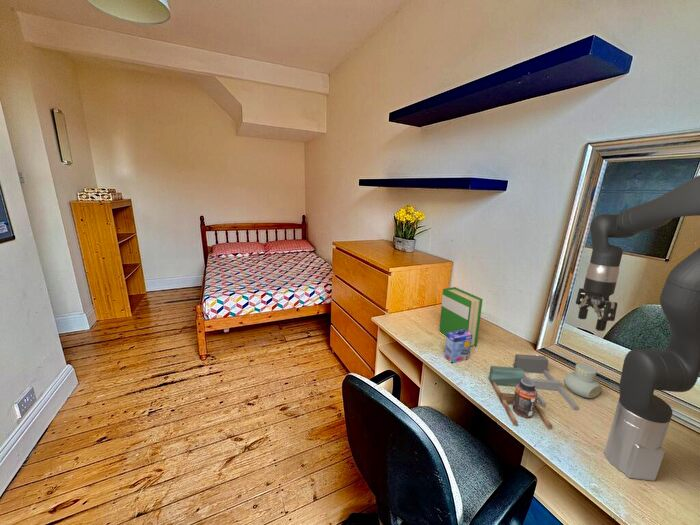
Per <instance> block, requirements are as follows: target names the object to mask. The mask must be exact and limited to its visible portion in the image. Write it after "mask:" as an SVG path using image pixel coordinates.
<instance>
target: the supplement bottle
mask: <svg viewBox="0 0 700 525" xmlns="http://www.w3.org/2000/svg"><path fill="white" fill-rule="evenodd" d="M537 392H538V391H537V389H536V388H535V383H534V382H533V381H531V380H529V379H528V378H527V379H521V381H520V383H519V384H517V386H515V391H514V394H515V395H514V401H513V404H512V410H513V411H514V413H515V414H517V416H520V417H522V418H525V419H530V418H532V417H533V416H534V413H535V409H534V408H535V403H536V398H537Z"/></svg>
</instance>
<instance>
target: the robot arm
mask: <svg viewBox="0 0 700 525" xmlns="http://www.w3.org/2000/svg"><path fill="white" fill-rule="evenodd" d="M697 216H700V174H699V175H697V176H694V177H693V178H691V179H689V180H687V181H686V182H684V183H682V184H680V185H679V186H677V187H675V188H673V189H671V190H670V191H668V192H666V193H663V194H662V195H660V196H658V197H656V198H655V199H652V200H649V201H646V202H644V203H640V204H638V205H635V206H632V207H630V208H627V209H625V210H623V211H621V212H620V213H619V214H612V213H611V214H607V213H606V214H605V213H604V214H603V213H602V214H598V215H596V216H595V217H594V218H593V219H592V220H591V222H590V225H589V230H590V231H589V232H590V237H591V247H592V252H591V256H590V261H589V265H588V266H587V270H586V275H585V280H584V282H583V283H584V284H583V287H581V288H579V289H578V293H577V295H576V296H577V297H576V300H575V304H576V305H578V308H579V310H578V315H577V316H578V317H577V318H578V319H580V320H586V319H587V317H588V312H589V308H590V307H591V308H592V309H593V310H594V313H596V315H597V322H596V325H595V330H596V331H599V332H604V331H606V328H607V323H608V322H614V321H615V319H616V315H617V314H616V313H617V308H618V302H617V301H610V297H611V296H612V295H614V294H615V290H616V286H617V282H618V278H619V274H620V266H621V262H622V257H623V253H624V252H623V248H622V247H620V246H618V245H614V244H610V242H609V239H610V238H614V239H626V238H631V237H634V236H636V235H637V234H639V233H641V232H645V231H650V230H654V229H658V228H661V227H662V226H665V225H667V224H668V223H670V222H671V221H672V220H673V219H674V218H682V217H697ZM608 238H609V239H608ZM581 299H582V300H581ZM659 305H660V307H661V310H662V312H663V314H664V316H665V318H666V320H667V322H668V325H669V328H670V333H671V334H670V339H669V342H668V344H667V346H666V348H665V349H664V350H653V349H645V348H642V349H641V348H634V349H633V348H632V349H631V350H629V351H628V352H627V353H626V355H625V357H624V359H623V360H624V361H623V364H622V370H621V375H620V380H619V388H618V389H619V398H618V401H617V405H616V408H615V411H614V412H615V413H614V414H613V415H614V416H613V419H612V422H611V427H610V430H609V434H608V437H607V442H606V445H605V447H604V448H605V449H604V457H605V458H606V460H608V462H609V463H610V464H611V465H612V466H613V467H615V468H616V469H617V470H619V471H620V472H622V473H623V474H625V475H626V477H627V478H629V479H635V480H644V481H645V480H646V481H653V482H654V481H656V479H657V476H658V473H659V470H660V467H661V465H662V462H663V461H662V460H663V458H664V456H665V453H666V451H665V449H664V447H662V446H663V443H664V441H665V440H664V439H665V437H666V434H667V432H668V431H667V430H668V429H669V425H670V423H671V420H672V416H673V409H672V406H670V405H669V403H667V402H666V400H663V399H662V398H661V397H659V396H658V395H656V394H654V393H655V390H656V391H664V392H673V393H674V392H675V393H686V392H688V391H690V390H692V389H693V388H694V386H695V385H696V383H697V381H698V379H699V376H700V247H698V248H697V249H696V250H694V251H693V252H692V253H691V254H689V255H688V256H686V257H685V258H684V259H682V260H681V261H679V263H677V264H676V265H675V266H674V267H673V268H672V269H671V270H670V272H669V273H668V275H667V277H666V279H665V283H664V285H663V288H662V290H661V293H660V296H659ZM602 314H603V315H602ZM609 314H610V316H609Z"/></svg>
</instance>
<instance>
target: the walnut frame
mask: <svg viewBox="0 0 700 525" xmlns="http://www.w3.org/2000/svg"><path fill="white" fill-rule="evenodd" d="M524 376H526V372H524V371H523V370H522V368H514V367H513V366H512V367H511V366H502V365H501V366H498V365H496V366H495V365H490V369H489V375H488V381H489V382H490V384H491V386H492V388H493V390H494V392H495V393H496V395H497V398H498V399H499V401H500V403H501V405H502V408H504V411H505V412H506V414H507V416H508V418H509V420H510V422H511V423H512V425H513V427H514V426H515V427H517V426H518V420H517V418H516V417H515V415H514V412H513V411H512V409H511V407H510V406H509V405H513V401H514V395H515V393H509V392H508V393H507V392H502V391H501V389H500V388H499V386H509V387H516V386H517V384H519V383H520V381H521V379H524ZM534 411H535V412H536V413H537V415H538V417H540V419H541V421H542V422H543V424H544V425H545V426H546V428H547V429H548V430H552V429H553V424H552V422H551V421H550V420H549V417H548V416H547V415H546V414H545V412H544V411H543V410H542V408H541V407H540V404H539V403H538V400H537V398H536V403H535V408H534Z"/></svg>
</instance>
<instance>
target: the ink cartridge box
mask: <svg viewBox="0 0 700 525" xmlns="http://www.w3.org/2000/svg"><path fill="white" fill-rule="evenodd" d="M471 342H472V334H471V333H469V332H468V331H466V329H462V330H458V331H452V332H448V333H447V336H446V337H445V347H444V355H443V356H445V357H446V358H447V359H448V360H449V361H451V362H455V363H457V362H456V361H459V362H461V361H460V360H463V361H467V360H466V359H468V360H469V358H470V353H471V347H472V346H471ZM445 357H444V358H445ZM446 358H445V359H446ZM447 359H446V360H447ZM448 360H447V361H448ZM449 361H448V362H449Z"/></svg>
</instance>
